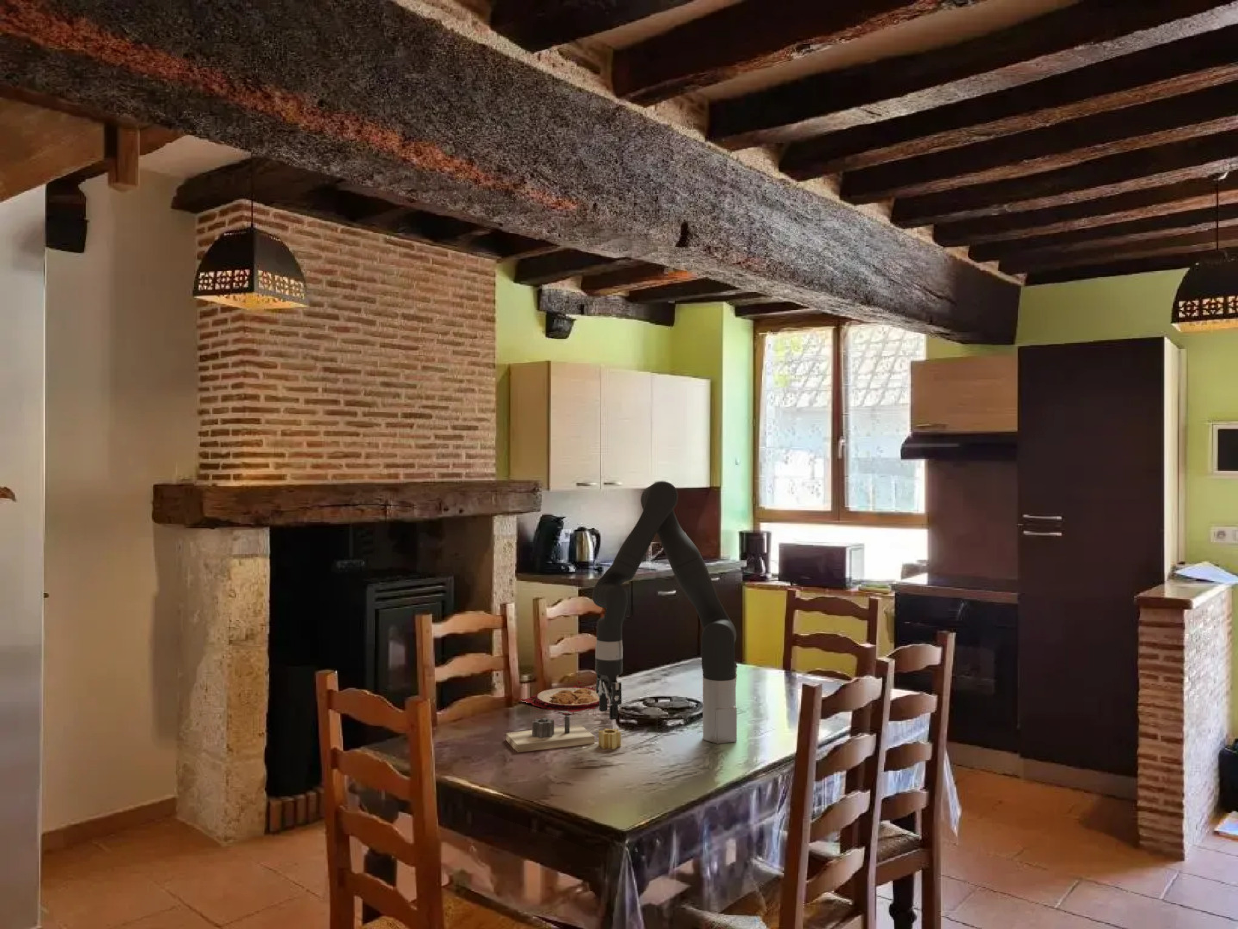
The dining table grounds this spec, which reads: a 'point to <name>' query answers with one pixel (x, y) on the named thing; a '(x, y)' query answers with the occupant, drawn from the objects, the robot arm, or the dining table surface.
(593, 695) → the plate with food
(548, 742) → the gear board
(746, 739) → the dining table surface
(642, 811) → the dining table surface
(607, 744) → the brass gear
